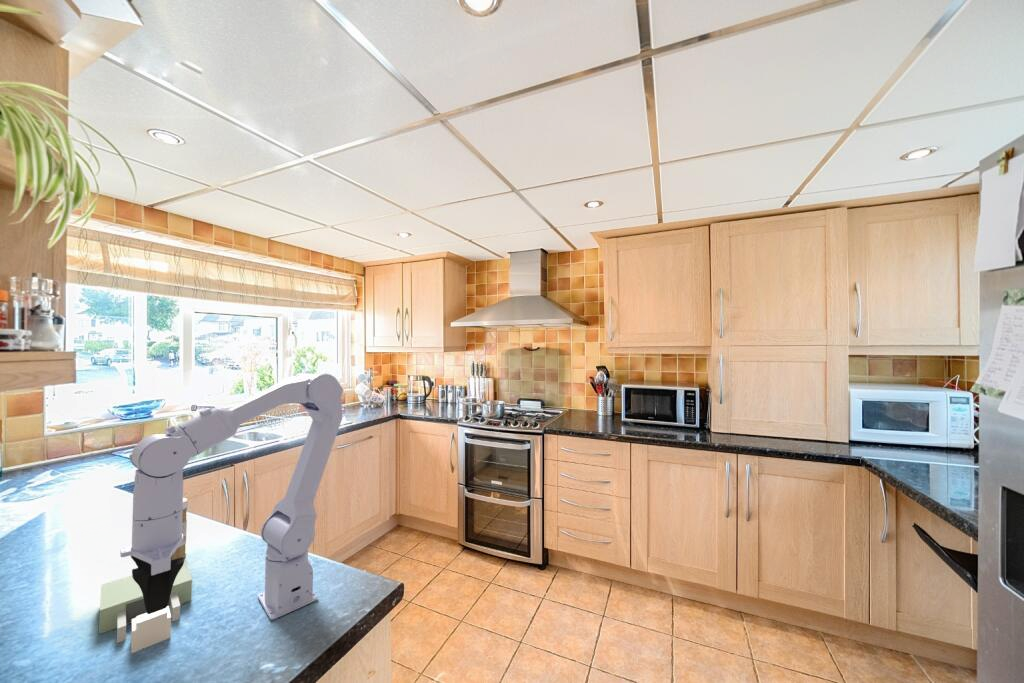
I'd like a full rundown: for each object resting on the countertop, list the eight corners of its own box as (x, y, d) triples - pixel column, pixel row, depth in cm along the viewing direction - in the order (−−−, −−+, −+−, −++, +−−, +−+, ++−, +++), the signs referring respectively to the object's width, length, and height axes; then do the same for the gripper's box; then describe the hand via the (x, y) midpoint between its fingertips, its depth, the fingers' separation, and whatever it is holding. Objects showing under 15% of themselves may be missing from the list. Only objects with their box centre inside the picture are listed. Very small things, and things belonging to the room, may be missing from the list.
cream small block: (170, 638, 63) (171, 610, 63) (131, 653, 60) (132, 625, 60) (168, 626, 66) (169, 600, 66) (130, 640, 63) (131, 613, 63)
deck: (195, 613, 69) (195, 591, 69) (98, 650, 60) (98, 625, 60) (184, 578, 79) (185, 559, 79) (100, 606, 71) (101, 584, 71)
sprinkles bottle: (170, 555, 88) (172, 497, 88) (191, 554, 89) (192, 496, 89) (153, 566, 84) (155, 505, 84) (175, 565, 84) (177, 504, 84)
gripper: (121, 506, 61) (118, 591, 60) (122, 538, 51) (118, 640, 50) (179, 494, 66) (176, 573, 66) (190, 521, 56) (187, 613, 56)
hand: (155, 601), depth 58 cm, fingers open, 5 cm apart
